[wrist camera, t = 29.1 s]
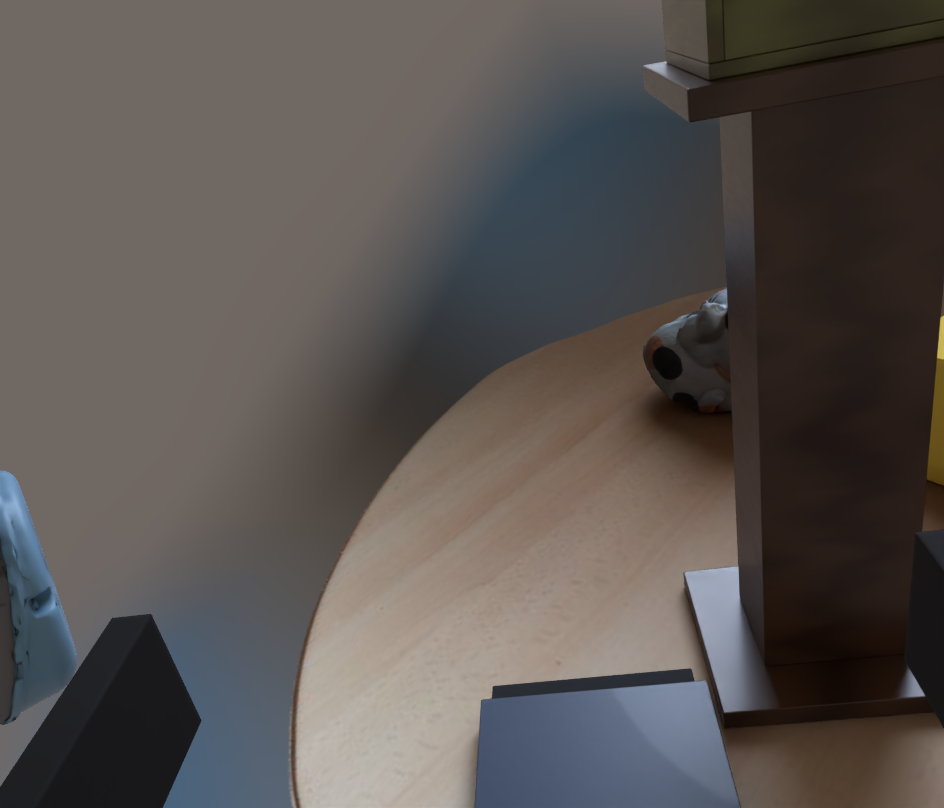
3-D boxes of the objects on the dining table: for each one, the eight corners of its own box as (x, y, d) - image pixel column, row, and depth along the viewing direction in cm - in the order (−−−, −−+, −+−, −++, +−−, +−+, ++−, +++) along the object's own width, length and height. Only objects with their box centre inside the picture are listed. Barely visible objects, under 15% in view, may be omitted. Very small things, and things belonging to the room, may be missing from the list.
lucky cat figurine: (754, 345, 85) (818, 240, 75) (799, 431, 77) (877, 326, 67) (624, 341, 81) (673, 230, 71) (658, 430, 74) (717, 319, 63)
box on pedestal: (724, 728, 43) (677, -75, 26) (684, 585, 54) (632, -53, 37) (995, 707, 41) (1133, -172, 25) (899, 563, 52) (948, -119, 35)
